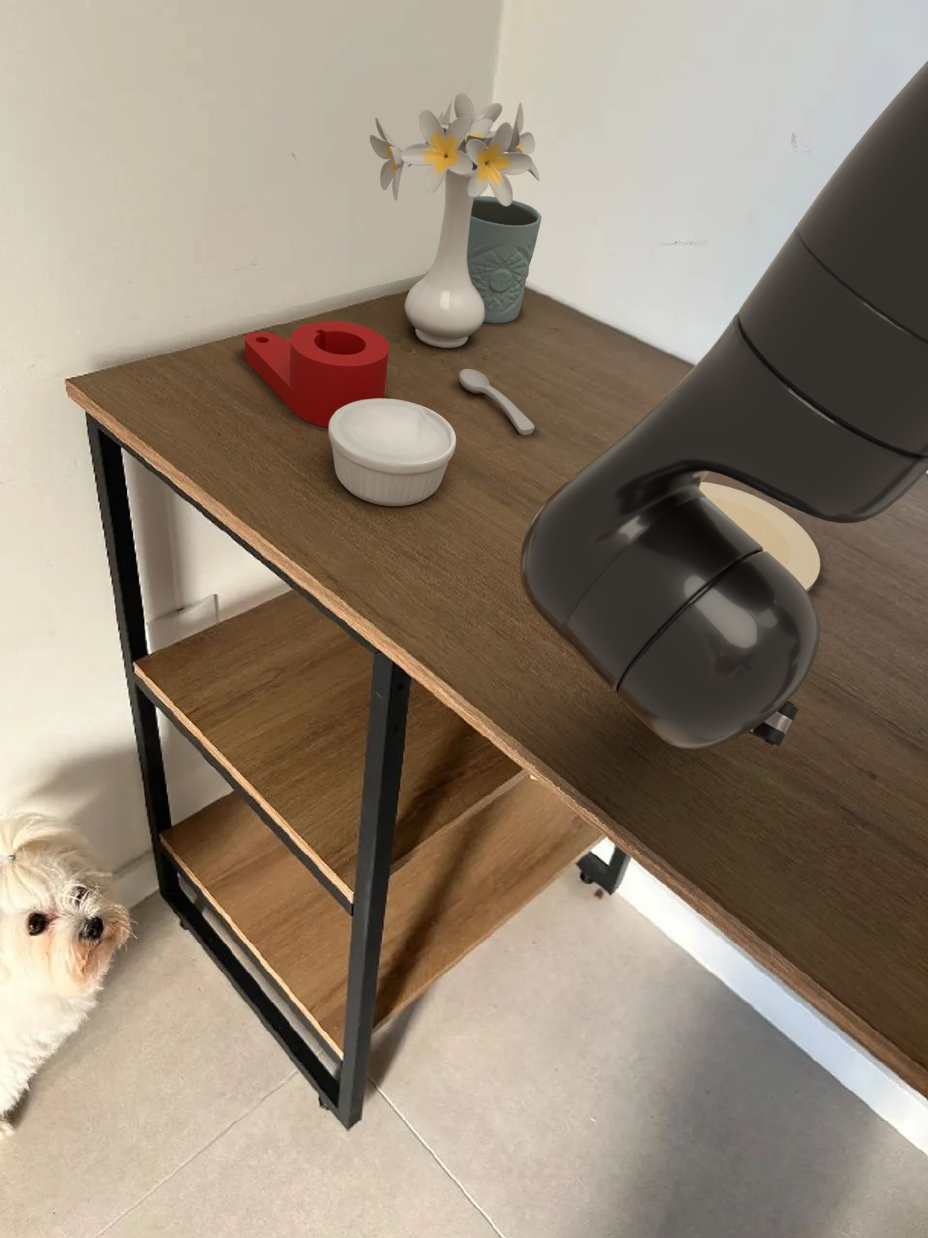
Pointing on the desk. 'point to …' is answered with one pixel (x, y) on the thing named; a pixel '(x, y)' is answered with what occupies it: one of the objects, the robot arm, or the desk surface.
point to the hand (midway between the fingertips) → (696, 692)
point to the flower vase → (456, 205)
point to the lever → (321, 366)
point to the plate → (769, 530)
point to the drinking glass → (501, 254)
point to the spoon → (480, 384)
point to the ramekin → (390, 450)
